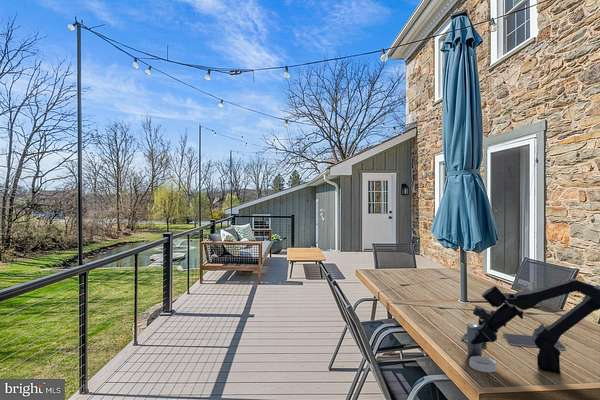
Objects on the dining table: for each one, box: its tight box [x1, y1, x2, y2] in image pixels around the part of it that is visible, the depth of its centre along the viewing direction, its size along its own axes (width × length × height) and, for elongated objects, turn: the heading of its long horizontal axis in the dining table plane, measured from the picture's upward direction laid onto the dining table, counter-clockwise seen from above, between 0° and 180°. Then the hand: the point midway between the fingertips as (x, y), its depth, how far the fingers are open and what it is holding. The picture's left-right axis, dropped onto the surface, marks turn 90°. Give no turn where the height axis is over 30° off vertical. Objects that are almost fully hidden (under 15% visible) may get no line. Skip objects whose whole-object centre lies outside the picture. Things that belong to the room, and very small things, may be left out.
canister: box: [466, 322, 483, 359], centre depth 145 cm, size 5×5×13 cm
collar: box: [468, 355, 497, 374], centre depth 136 cm, size 9×9×2 cm
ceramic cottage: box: [517, 281, 540, 308], centre depth 227 cm, size 16×16×15 cm
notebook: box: [502, 333, 566, 351], centre depth 161 cm, size 13×2×21 cm
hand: (471, 339), depth 145 cm, fingers open, 9 cm apart
